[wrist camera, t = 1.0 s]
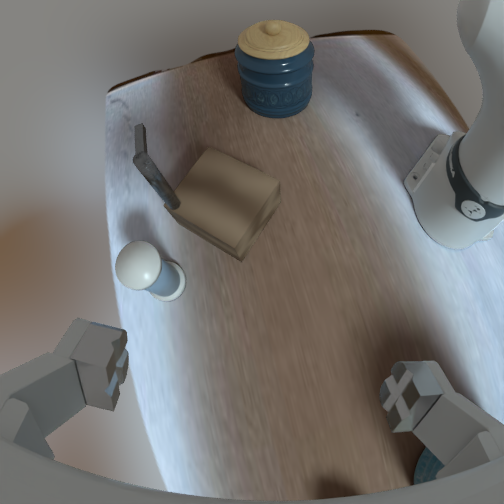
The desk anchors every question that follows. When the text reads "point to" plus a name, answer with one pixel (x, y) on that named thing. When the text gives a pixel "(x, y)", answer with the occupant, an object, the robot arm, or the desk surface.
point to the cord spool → (149, 271)
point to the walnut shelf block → (226, 202)
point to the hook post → (152, 170)
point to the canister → (275, 68)
